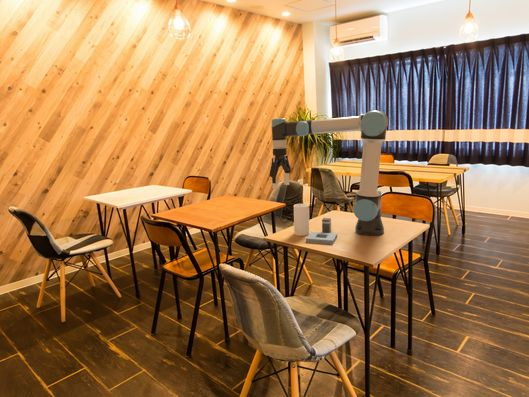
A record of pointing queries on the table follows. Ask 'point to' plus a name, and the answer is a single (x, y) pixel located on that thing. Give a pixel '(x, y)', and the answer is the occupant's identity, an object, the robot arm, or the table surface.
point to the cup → (301, 219)
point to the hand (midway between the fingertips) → (281, 186)
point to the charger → (326, 225)
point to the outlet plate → (321, 237)
